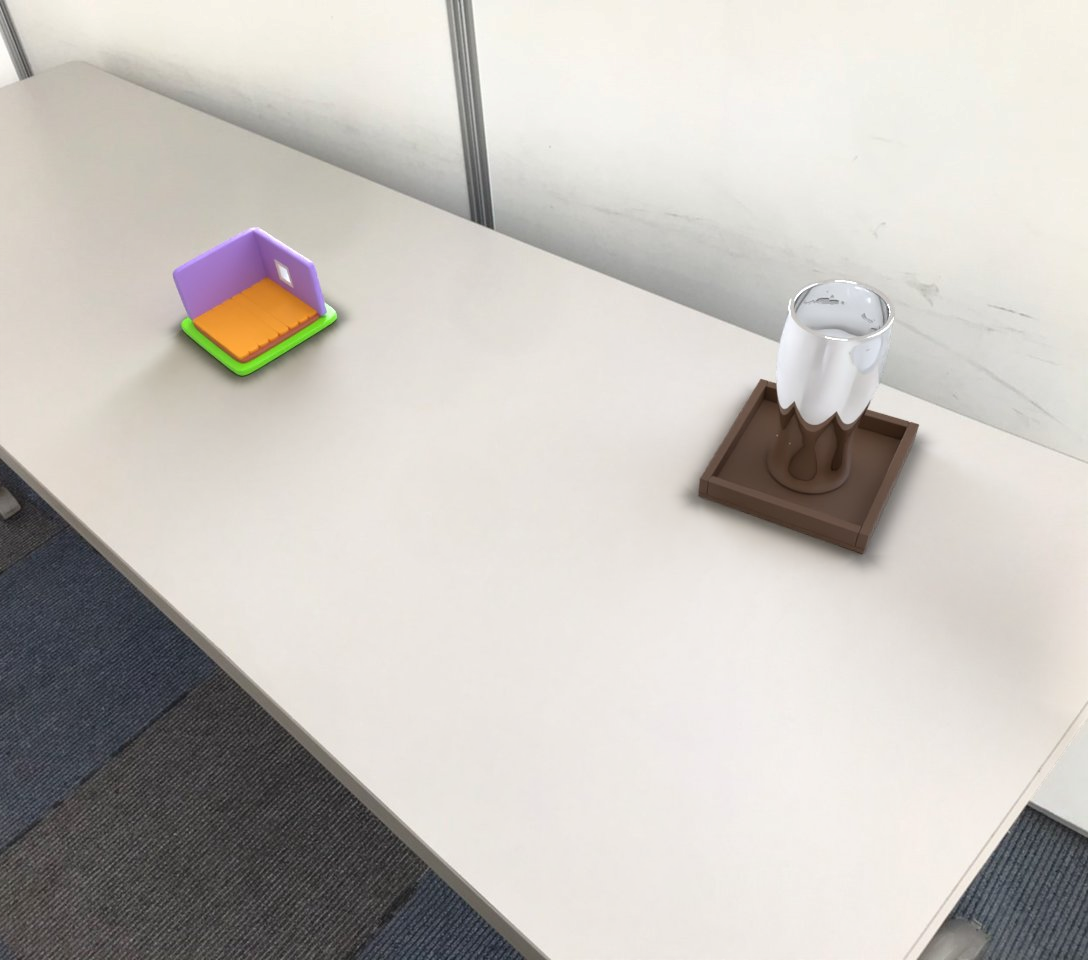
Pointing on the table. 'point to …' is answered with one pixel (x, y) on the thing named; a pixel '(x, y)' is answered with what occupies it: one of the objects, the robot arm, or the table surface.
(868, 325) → the beer glass
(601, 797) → the table surface
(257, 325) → the dollhouse room
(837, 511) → the tray
